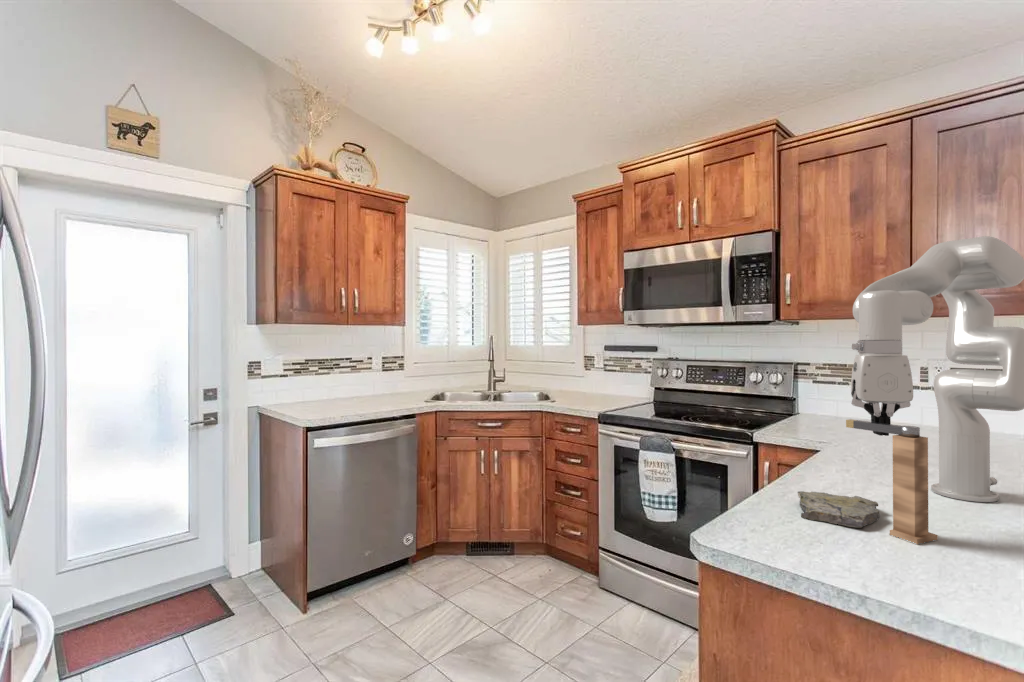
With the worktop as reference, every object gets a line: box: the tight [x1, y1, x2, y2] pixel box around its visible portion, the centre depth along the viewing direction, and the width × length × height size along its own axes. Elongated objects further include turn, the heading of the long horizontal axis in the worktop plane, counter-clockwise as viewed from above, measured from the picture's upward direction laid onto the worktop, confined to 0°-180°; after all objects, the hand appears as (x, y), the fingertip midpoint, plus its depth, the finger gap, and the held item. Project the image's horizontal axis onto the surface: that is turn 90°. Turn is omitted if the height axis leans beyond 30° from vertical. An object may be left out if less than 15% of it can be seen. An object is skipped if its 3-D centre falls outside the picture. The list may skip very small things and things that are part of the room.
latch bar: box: [845, 418, 921, 437], centre depth 104 cm, size 13×3×2 cm, turn 28°
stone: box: [797, 490, 880, 528], centre depth 112 cm, size 18×15×4 cm
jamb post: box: [889, 434, 939, 545], centre depth 99 cm, size 6×5×20 cm
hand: (880, 434), depth 107 cm, fingers closed
